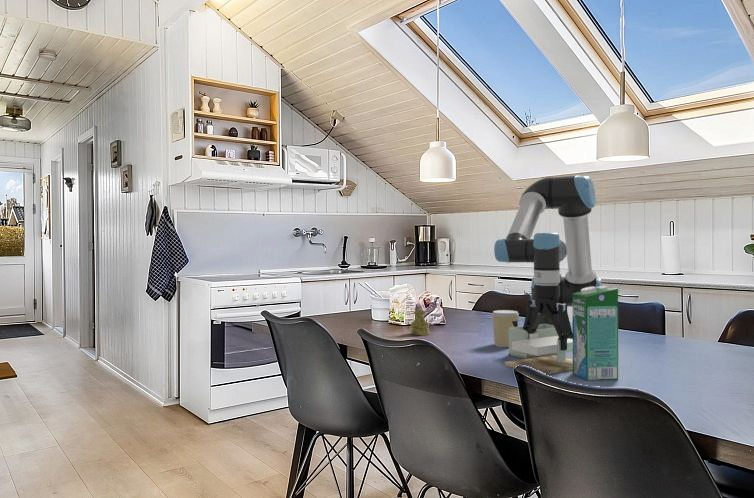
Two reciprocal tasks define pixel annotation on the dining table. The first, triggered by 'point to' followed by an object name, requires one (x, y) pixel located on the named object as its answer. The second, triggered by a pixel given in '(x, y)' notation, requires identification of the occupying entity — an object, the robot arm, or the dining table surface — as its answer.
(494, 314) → the coffee cup
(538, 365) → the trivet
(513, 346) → the lid
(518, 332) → the box
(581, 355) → the milk carton
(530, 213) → the robot arm
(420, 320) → the olive green tiered cone
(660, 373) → the dining table surface
